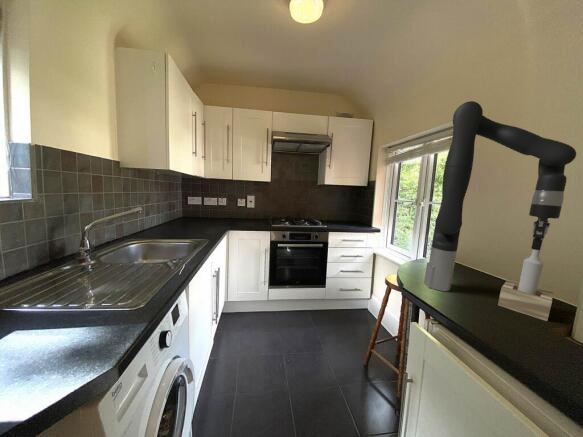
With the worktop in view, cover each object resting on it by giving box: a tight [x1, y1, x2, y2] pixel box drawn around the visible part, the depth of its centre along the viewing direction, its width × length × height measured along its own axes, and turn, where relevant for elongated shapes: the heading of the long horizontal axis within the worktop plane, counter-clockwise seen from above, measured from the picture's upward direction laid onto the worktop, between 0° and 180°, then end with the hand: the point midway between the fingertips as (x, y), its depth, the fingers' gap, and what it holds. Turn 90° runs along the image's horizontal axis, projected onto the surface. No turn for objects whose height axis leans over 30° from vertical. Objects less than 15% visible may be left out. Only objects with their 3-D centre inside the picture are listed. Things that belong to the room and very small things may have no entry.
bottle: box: [518, 239, 544, 295], centre depth 88 cm, size 5×5×25 cm
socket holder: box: [497, 280, 554, 322], centre depth 90 cm, size 13×13×7 cm
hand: (536, 248), depth 87 cm, fingers open, 8 cm apart
